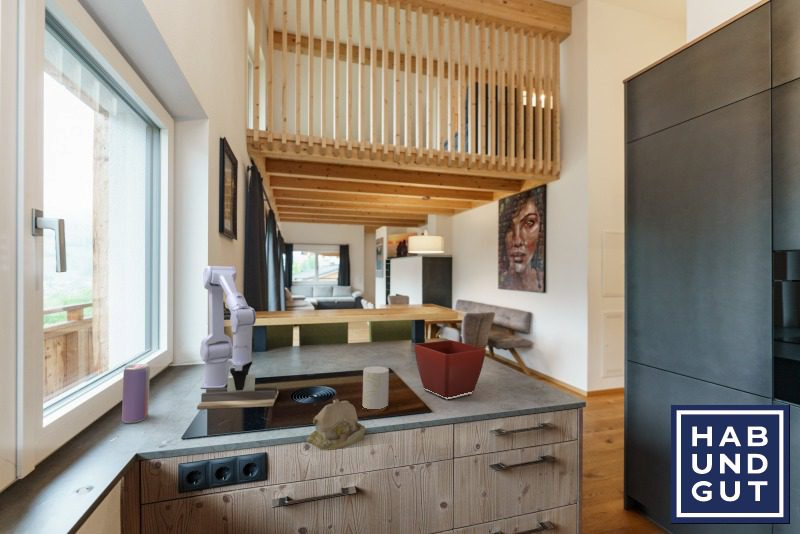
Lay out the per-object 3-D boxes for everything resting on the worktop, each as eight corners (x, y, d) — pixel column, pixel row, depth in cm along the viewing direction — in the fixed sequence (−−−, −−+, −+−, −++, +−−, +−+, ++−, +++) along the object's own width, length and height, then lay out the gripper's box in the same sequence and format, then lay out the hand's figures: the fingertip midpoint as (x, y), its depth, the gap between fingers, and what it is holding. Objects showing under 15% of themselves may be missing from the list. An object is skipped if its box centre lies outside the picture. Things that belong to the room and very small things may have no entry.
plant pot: (486, 396, 127) (487, 348, 128) (446, 406, 117) (447, 354, 117) (450, 381, 143) (451, 339, 144) (411, 389, 132) (412, 344, 133)
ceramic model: (318, 455, 84) (319, 412, 84) (301, 436, 93) (302, 398, 93) (370, 440, 92) (371, 401, 92) (350, 424, 101) (351, 389, 101)
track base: (210, 395, 121) (210, 385, 121) (278, 393, 125) (278, 383, 125) (197, 409, 109) (197, 397, 109) (272, 406, 113) (273, 394, 113)
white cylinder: (357, 407, 114) (358, 369, 114) (375, 401, 120) (376, 365, 120) (374, 414, 108) (375, 374, 109) (393, 407, 114) (394, 369, 115)
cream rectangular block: (228, 397, 117) (228, 376, 117) (254, 395, 119) (255, 374, 119) (227, 399, 115) (227, 377, 115) (253, 397, 117) (254, 376, 117)
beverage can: (134, 425, 97) (136, 369, 97) (116, 422, 98) (118, 367, 99) (153, 416, 103) (155, 364, 103) (136, 414, 104) (138, 362, 104)
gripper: (232, 341, 123) (231, 381, 123) (224, 350, 109) (223, 395, 109) (254, 341, 125) (253, 380, 125) (249, 349, 111) (248, 393, 111)
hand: (241, 387), depth 117 cm, fingers open, 5 cm apart
